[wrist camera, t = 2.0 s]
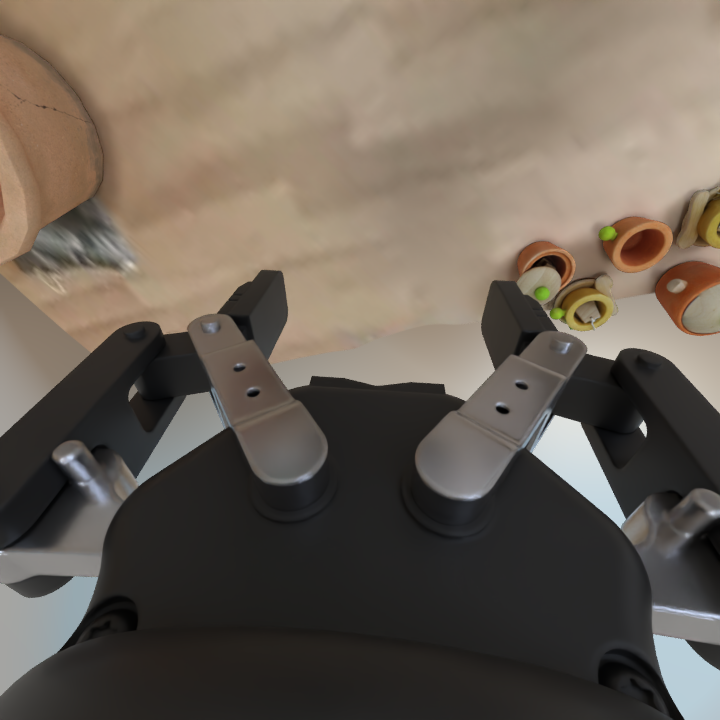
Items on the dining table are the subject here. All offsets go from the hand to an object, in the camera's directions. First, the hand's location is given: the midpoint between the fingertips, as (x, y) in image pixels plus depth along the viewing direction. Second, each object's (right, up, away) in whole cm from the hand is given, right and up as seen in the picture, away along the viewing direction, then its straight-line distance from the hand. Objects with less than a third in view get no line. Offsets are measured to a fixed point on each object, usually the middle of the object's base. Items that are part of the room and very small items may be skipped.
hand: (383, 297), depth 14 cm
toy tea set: (+31, +9, +29) cm, 44 cm away
